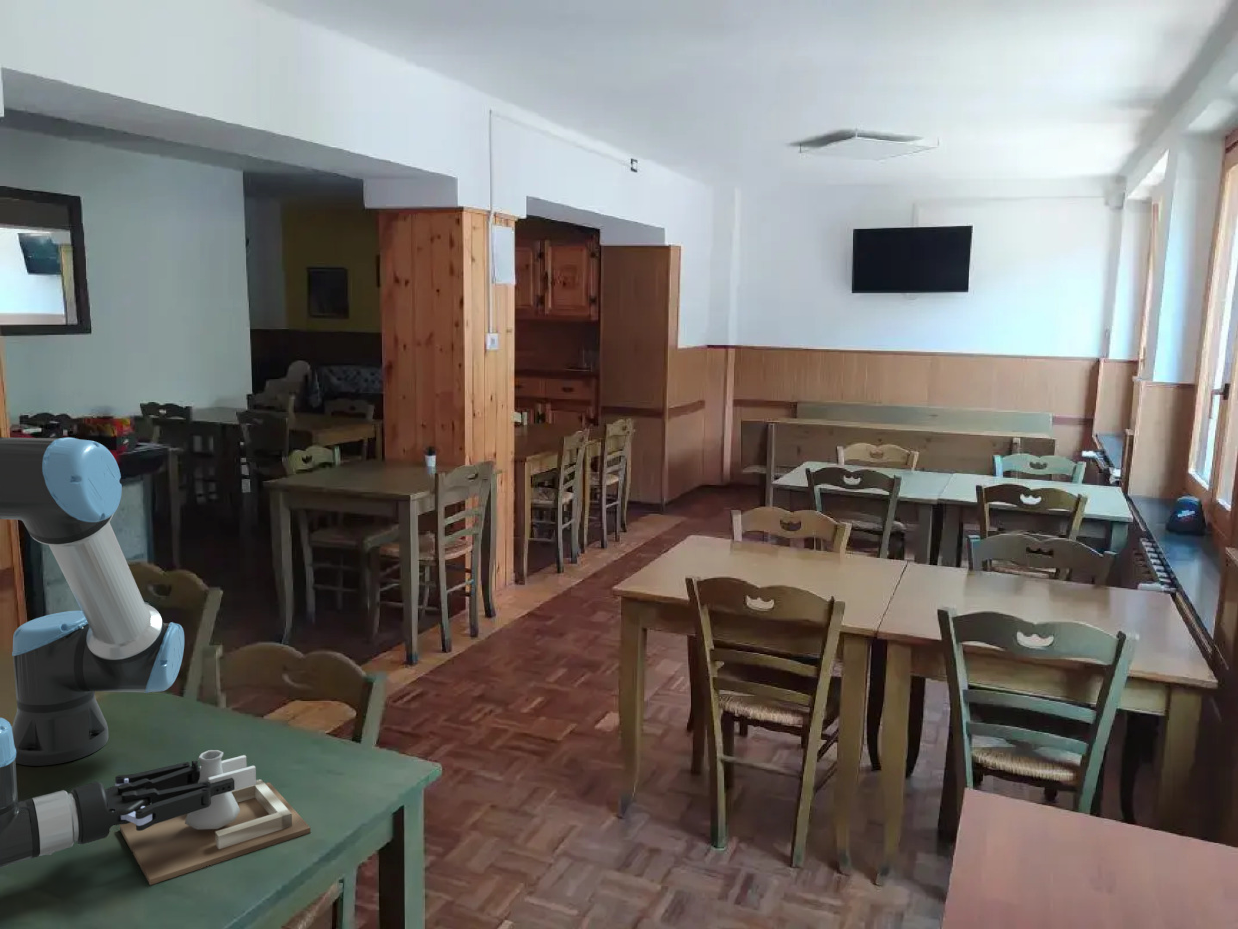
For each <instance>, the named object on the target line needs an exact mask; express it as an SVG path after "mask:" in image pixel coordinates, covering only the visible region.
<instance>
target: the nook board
mask: <svg viewBox="0 0 1238 929" xmlns="http://www.w3.org/2000/svg"><path fill="white" fill-rule="evenodd" d="M231 792H232V794H233V796H234V798H235V800H236V802H237V804H238V806H239V808H240V812H239V814H238V815H237V817H236V819H235V820H234V821H232V822H230V823H229V824H227V825H225V826H223V827H221V828H219V829H195V828H193V827H191V826H189V825H187V824H184V823H185V821H186V818H187V815H188V814H185V815H182V816H179V817H175V818H172V819H169V820H166V821H163V822H160V823H157V824H154V825H152V826H150V827H148V828H146V829H144V830H142V831H137V830H136V824H135V823H132V822H130V823H128V824H120V825H119V831H120V833H121V835H122V836H123V839H124V840H125V842H126V843H127V845H128V848H129V849H130V852H131V853H132V852H133V853H132V855H133V857H134V858H135V860H136V862H137V864H138V865H140V866H139V867H140V869H141V871H142V873H143V874H144V877H145V879H146V880H147V882H148V884H149V885H150V886H152V885H156V884H157V883H160V882H163V881H167V880H169V879H174V878H176V877H179V876H181V875H186V874H188V873H192V872H194V871H197V870H200V869H203V868H206V866H207V867H210V866H212V865H216V864H219V863H222V862H225V861H228V860H231V859H234V858H237V857H241V856H243V855H244V856H245V855H246V854H249V853H252V852H255V851H258V850H262V849H265V848H268V847H271V846H274V845H276V844H280V843H282V842H283V843H284V842H285V841H289V840H292V839H296V838H297V837H301V836H305V835H307V834H311V827H310V826H309V824H308V823H307V822H306V821H305V820H304V818H302V817H301V815H300V814H299V813H298V812H297V811H296V810H295V809H294V808H293V806H292V805H291V804H290V803H289V802H288V801H287V800H286V799H285V797H283V795H282V794H280V792H279V791H278V790H277V789H276V788H275V787H274V786H273V784H272V783H271V782H270V781H269V782H266V783H265V782H264V780H262V778H260V779H256V785H252V786H249V787H245V788H242V789H238V790H234V791H231ZM209 865H210V866H209Z"/></svg>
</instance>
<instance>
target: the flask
mask: <svg viewBox="0 0 1238 929" xmlns="http://www.w3.org/2000/svg"><path fill="white" fill-rule="evenodd" d="M222 757H224V751H221V750H218V749H214V750H213V749H209V750H206V751H203V752H202V753H200V754H199V756H198V759H197V761H198V762H200V766H201V773H200V778H199V782H198V783H201V782H208V778H209V777H212V776H216V775H220V774H223V770H222V765H221V761H222ZM239 812H240V808H239V806H238V804H237V802H236V800H235V798H234V796H233V794H232V792H227V793H224V794H220V795H217V796H213V797H211V804H210V806H209V807H207V808H204V809H200V810H197V811H194V812H191V813H188V815H187V818H186V821H185V823H184V824H187V825H189V826H191V827H193V828H195V829H219V828H221V827H223V826H225V825H227V824H229V823H230V822H232V821H234V820H235V819H236V817H237V815H238V814H239Z"/></svg>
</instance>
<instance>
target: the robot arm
mask: <svg viewBox="0 0 1238 929" xmlns="http://www.w3.org/2000/svg"><path fill="white" fill-rule="evenodd" d="M121 475H122V474H121V472H120V468H119V465H118V462H117V460H116V458H115V457H114V455H113V454H112V453H111V451H110V450H109V449H108V447H106V446H105V445H103V444H101V443H100V442H97V441H94V440H89V439H88V440H87V439H79V438H77V437H76V438H75V437H61V438H53V437H52V438H51V437H50V438H45V437H37V438H36V437H4V436H3V437H2V436H0V520H19V521H22V523H23V524H24V526H25V528H26V530H27V532H28V534H29V535H30V537H31V538H32V539H33V540H34V541H36V542H38V543H40V544H43V545H45V546H46V545H47V546H49V549H50V550H51V552H52V555H53V556H54V558H55V560H56V563H57V565H58V567H59V569H60V570H61V573H62V575H63V576H64V578H65V580H66V582H67V584H68V587H69V588H70V590H71V592H72V594H73V596H74V598H75V600H76V602H77V604H78V607H79V608H80V610H69V611H63V612H62V611H61V612H56V613H50V614H47V615H44V616H43V615H42V616H40V617H36V618H34V619H32V620H29V621H27V622H25V623H23V624H21V625H19V627H17V628H16V630H15V631H14V633H13V636H12V652H11V656H12V657H13V658H12V659H13V672H14V682H15V683H14V684H15V685H14V686H15V697H16V714H15V717H14V719H13V723H12V724H11V723H10V722H9V721H8V720H7V719H5V718H4V717H0V868H3V867H7V866H10V865H13V864H17V863H20V862H23V861H27V860H29V859H35V858H37V857H40V856H44V855H45V856H52V855H53V853H56V852H60V851H62V850H65V849H70V848H72V847H73V845H74V843H75V842H76V844H78V845H81V846H82V845H85V844H88V843H92V842H95V841H99V840H102V839H106V838H107V837H108V836H109V834H110V831H111V830H110V829H111V828H112V827H113V826H118V825H119V826H120V825H121V824H128V823H130V822H132V823H135V824H136V830H137V831H142V830H144V829H146V828H148V827H150V826H152V825H154V824H157V823H160V822H163V821H166V820H169V819H172V818H175V817H179V816H182V815H185V814H188V813H191V812H194V811H197V810H200V809H204V808H207V807H209V806H210V804H211V797H213V796H217V795H220V794H224V793H227V792H231V791H234V790H238V789H242V788H245V787H249V786H252V785H256V780H257V774H256V772H257V771H256V770H257V768H256V766H255V765H250V766H248V765H247V756H246V754H243V755H239V756H237V757H236V756H235V757H232V758H227V759H223V760H221V765H222V770H223V774H220V775H216V776H212V777H209V778H208V782H201V783H199V778H200V773H201V765H200V766H199V760H191V763H190V762H189V761H185V762H181V763H177V764H176V763H175V764H173V765H168V766H164V767H162V766H161V767H160V768H159V767H158V768H154V769H148V770H144V771H141V772H137V773H130V774H121V775H120V774H119V775H117V776H115V777H114V783H115V785H114V786H110V787H108V788H107V789H105V787H104V785H103V783H102V782H99V781H95V782H92V783H88V784H83V785H80V786H79V785H78V786H76V787H73V788H72V789H71V790H70V792H69V793H68V792H67V791H66V790H64V789H62V790H60V791H59V790H58V791H54V792H52V793H48V794H43V795H39V796H35V797H32V798H28V799H24V800H19V795H18V785H17V784H18V783H17V782H18V781H17V780H18V779H17V767H16V764H17V765H18V764H19V765H23V766H31V767H33V766H34V767H35V766H37V767H41V766H42V767H43V766H51V765H59V764H64V763H68V762H72V761H75V760H79V759H82V758H85V757H88V756H89V755H91V754H93V753H95V752H97V751H99V750H100V749H102V748H103V747H104V746H105V745H106V744H107V743H108V742H109V738H110V737H109V728H108V727H109V726H108V723H107V720H106V718H105V717H104V714H103V712H102V710H101V708H100V706H99V703H98V702H97V698H96V692H111V693H115V692H117V693H145V694H148V693H151V692H153V693H155V692H164V691H166V690H169V688H170V687H172V686H173V685H174V683H175V681H176V679H177V677H178V675H179V672H180V669H181V665H182V663H183V662H182V661H183V657H184V649H185V631H184V628H183V627H182V625H181V624H180V623H175V622H173V621H172V622H169V623H165V622H164V620H163V619H162V616H161V614H160V613H159V611H158V610H157V609H156V608H155V607H154V606H151V605H149V604H147V603H145V601H144V599H143V597H142V594H141V592H140V589H139V588H138V585H137V583H136V580H135V578H134V576H133V573H132V571H131V569H130V566H129V564H128V562H127V559H126V557H125V554H124V551H122V548H121V546H120V544H119V541H118V539H117V536H116V534H115V532H114V529H113V527H112V525H111V523H110V522H111V520H112V519H113V516H114V514H115V513H116V511H117V510H118V508H119V505H120V502H121V499H122V492H123V491H122V488H123V487H122V486H123V484H122V483H120V480H121V478H122V476H121Z"/></svg>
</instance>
